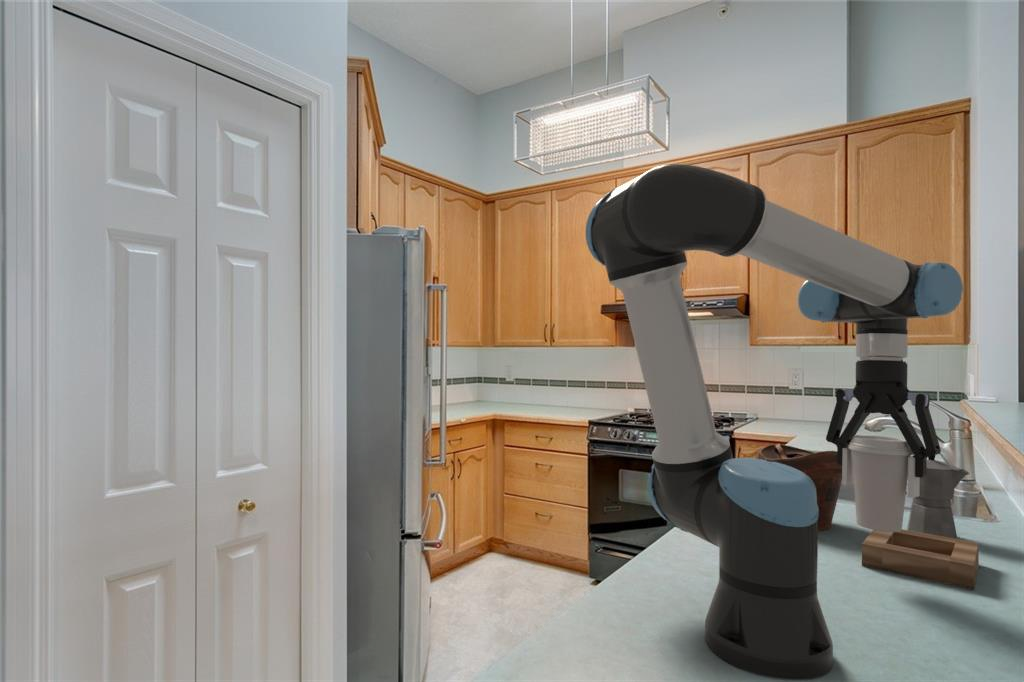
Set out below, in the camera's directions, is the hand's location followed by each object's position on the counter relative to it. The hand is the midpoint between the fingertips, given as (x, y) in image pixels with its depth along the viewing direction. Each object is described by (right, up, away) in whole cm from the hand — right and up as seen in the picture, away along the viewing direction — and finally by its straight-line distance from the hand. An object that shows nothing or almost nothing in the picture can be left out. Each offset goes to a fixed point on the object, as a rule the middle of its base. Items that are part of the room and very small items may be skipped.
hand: (879, 490), depth 99 cm
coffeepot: (+27, -16, +26) cm, 41 cm away
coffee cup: (0, -6, 0) cm, 6 cm away
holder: (+12, -16, +7) cm, 21 cm away
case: (+3, -16, +34) cm, 38 cm away
